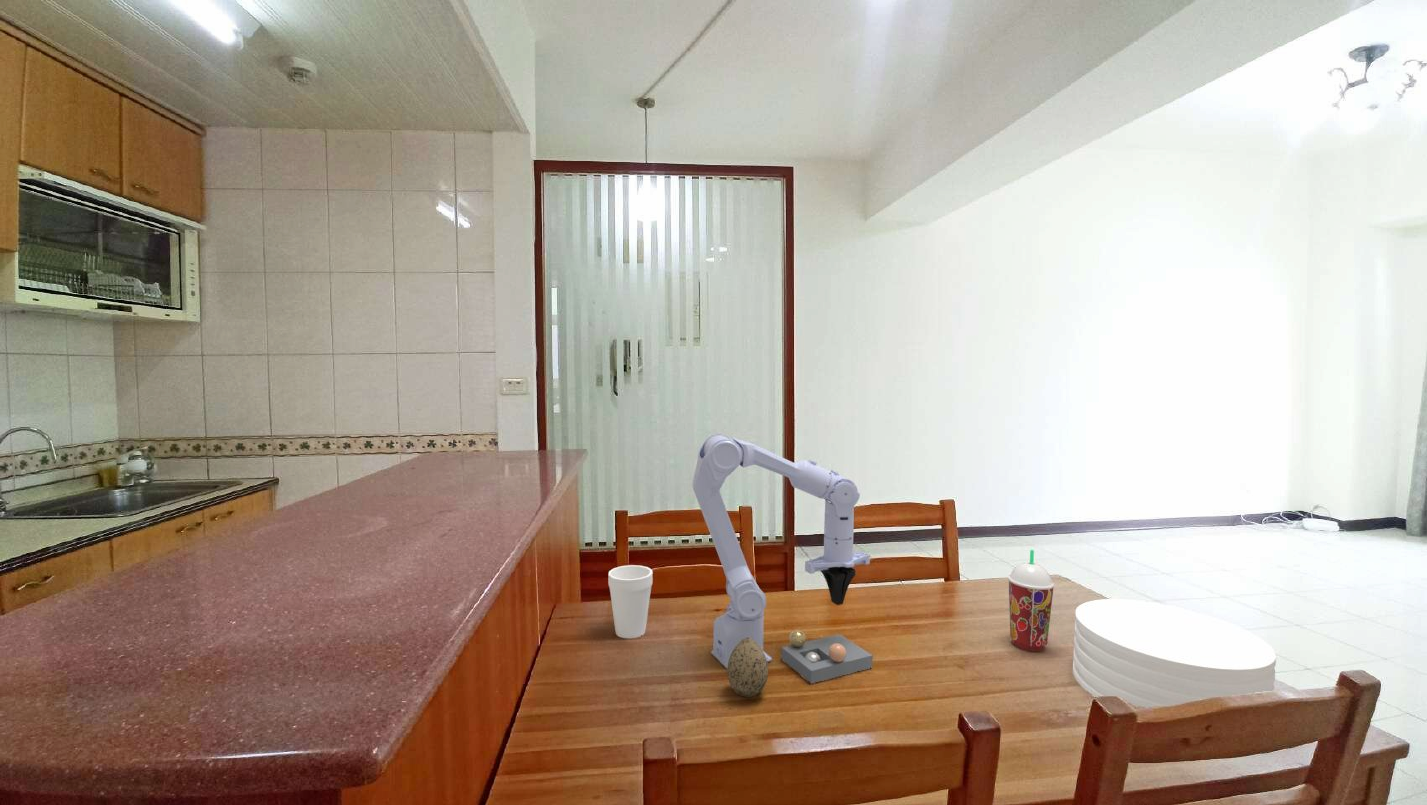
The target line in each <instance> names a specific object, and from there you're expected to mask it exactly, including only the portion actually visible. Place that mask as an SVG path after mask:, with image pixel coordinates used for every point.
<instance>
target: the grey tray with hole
mask: <svg viewBox="0 0 1427 805" xmlns="http://www.w3.org/2000/svg"><path fill="white" fill-rule="evenodd" d="M836 643H838V644H841V645H842V646H844V648H845V650H846V657H845V659H844V660H843V661H841V662H835V661H833V660H832V659H831V658H830V656H829V648H830V647H831V645H833V644H836ZM809 652H815V653H817V654H818V655H819V656H820V658H821V661H819V662H815V663H811V662H810V661H809V660H807V659H806V658H805V655H806V654H807V653H809ZM873 657H874V656H873V654H872V653H870V652H868V651H867V650H865V649H864V648H862V647H860V646H858V645H857V644H856V643H854V642H853V641H851V640H850V639H849V638H846V637H845V636H844V635H842V634H841V633H838V634H833V635H830V636H825V637H821V638H817V639H812V640H808V641H807V640H806V642H805V644H804V645H803V646H801V647H795V646H793V645H792V644H791V645H786V646H782V647H781V657H780V658H781V659H782V660H784V661H785V662H786V663H787V664H788V665H790V666H791V667H792V668H793V669H794V670H796V671H797V672H798V673H799V674H800V675H802V676H803V677H804V678H805V679H806V680H807V681H806V680H805V679H804V678H803V677H802V676H801V677H802V678H803V679H804V680H805V681H806V682H808V681H809V682H810V683H814V684H816V683H815V682H818V681H822V682H825V681H824V680H826V681H828V680H827V679H830V680H832V679H831V678H833V679H836V678H835V677H837V678H839V677H838V676H841V675H845V676H848V675H852V674H855V673H854V672H856V673H858V672H857V671H860V670H864V671H867V670H870V668H871V669H873ZM782 660H781V661H782ZM784 661H783V662H784ZM785 662H784V663H785ZM786 663H785V664H786ZM787 664H786V665H787ZM788 665H787V666H788ZM790 666H789V667H790ZM791 667H790V668H791ZM792 668H791V669H792ZM793 669H792V670H793ZM794 670H793V671H794ZM796 671H795V672H796ZM797 672H796V673H797ZM860 672H861V671H860ZM798 673H797V674H798ZM851 673H852V674H851ZM799 674H798V675H799ZM847 674H848V675H847ZM800 675H799V676H800ZM841 677H842V676H841ZM809 682H808V683H809ZM810 683H809V684H810ZM818 683H819V682H818Z"/></svg>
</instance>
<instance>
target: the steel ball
mask: <svg viewBox="0 0 1427 805" xmlns="http://www.w3.org/2000/svg"><path fill="white" fill-rule="evenodd" d="M805 658H806V659H807V660H809V661H810V662H811V663H815V662H819V661H821V658H820V656H819V655H818V654H817V653H815V652H809V653H807V654H806V655H805Z"/></svg>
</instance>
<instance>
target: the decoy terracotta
mask: <svg viewBox="0 0 1427 805" xmlns="http://www.w3.org/2000/svg"><path fill="white" fill-rule="evenodd" d="M829 656H830V658H831V659H832V660H833V661H835V662H841V661H843V660H844V659H845V657H846V650H845V648H844V646H842V645H841V644H838V643H836V644H833V645H831V647H830V648H829Z"/></svg>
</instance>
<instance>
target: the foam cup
mask: <svg viewBox="0 0 1427 805" xmlns="http://www.w3.org/2000/svg"><path fill="white" fill-rule="evenodd" d="M653 580H654V579H653V569H651V568H650V567H648V566H644V565H634V564H628V565H621V566H618V567H614V568H612V569H611V570H608V581H607V582H608V583H607V584H608V587H609V592H610V598H611V599H610V601H611V607H612V608H611V609H612V615H613V621H614V623H613V624H614V630H615V635H617V637H619V638H621V639H622V638H623V639H637V638H639V637H642V636H643V635H644V634H645V633H646V630H647V629H646V628H647V624H648V623H647V622H648V613H649V605H650V599H651V598H650V597H651V591H652V585H653ZM641 635H642V636H641Z"/></svg>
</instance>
